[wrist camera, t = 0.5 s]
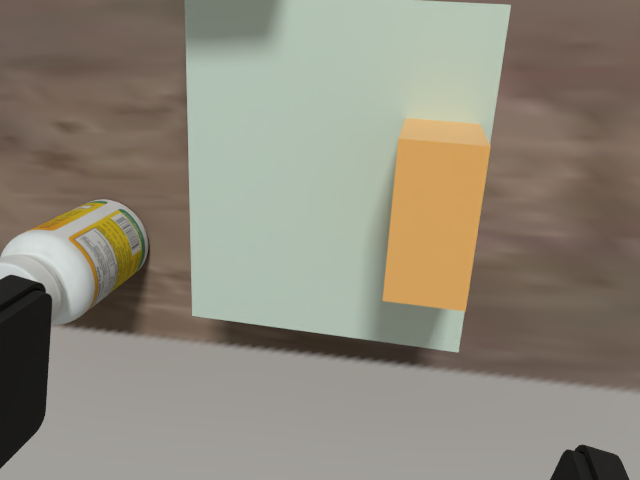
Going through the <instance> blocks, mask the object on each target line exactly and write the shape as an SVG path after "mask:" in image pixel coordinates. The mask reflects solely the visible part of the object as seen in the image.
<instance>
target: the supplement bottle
mask: <svg viewBox="0 0 640 480" xmlns="http://www.w3.org/2000/svg"><path fill="white" fill-rule="evenodd" d="M147 253H148V238H147V234H146V230H145V228H144V226H143V224H142V222H141V221H140V219H139V218H138V217H137V216H136V214H134V213H133V212H132V211H131V210H130V209H129V208H127V207H126V206H124V205H122V204H120V203H118V202H115V201H111V200H104V199H102V200H95V201H91V202H88V203H86V204H83V205H81V206H79V207H77V208H75V209H73V210H71V211H69V212H66V213H64V214H62V215H60V216H58V217H56V218H54V219H52V220H49V221H47V222H45V223H43V224H41V225H39V226H37V227H35V228H33V229H31V230H28V231H26V232H24V233H22V234H20V235H18V236H17V237H15V238H14V239H13V240H11V241H10V242H9V243H8V245H7V246H6V247H5V249H4V250H3V252H2V254H1V257H0V279H2V278H4V277H5V276H8V275H16V276H19V277H23V278H26V279H29V280H33V281H36V282H39V283H42V284H43V285H44V286H45V289H46V293H48V294H50V295H51V297H52V315H51V325H60V324H65V323H69V322H71V321H73V320H75V319H77V318H79V317H80V316H82V315H83V314H84V313H86V312H87V311H88V310H89V309H91V308H92V307H93V306H94V305H96V304H97V303H98V302H100V301H101V300H102V299H103V298H105V297H106V296H107V295H108V294H110V293H111V292H112V291H113V290H115V289H116V288H117V287H118V286H120V285H121V284H122V283H123V282H125V281H126V280H127V279H129V278H130V277H131V276H133V275H134V274H135V273H136V272H137V271H138V270H139V269H140V268H141V267H142V266H143V264H144V262H145V260H146V257H147Z"/></svg>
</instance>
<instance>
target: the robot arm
mask: <svg viewBox="0 0 640 480" xmlns="http://www.w3.org/2000/svg"><path fill="white" fill-rule="evenodd" d="M51 315H52V297H51V295H50V294H48V293H46V289H45V286H44V285H43V284H42V283H39V282H36V281H33V280H29V279H26V278H23V277H19V276H16V275H8V276H5V277H4V278H2V279H0V468H1V467H2V466H3V465H4V464H5V463H6V462H7V461H8V460H9V459H10V458H11V457H12V456H13V455H14V454H15V453H16V452H17V451H18V450H19V449H20V448H21V447H22V446H23V445H24V444H25V443H26V442H27V441H28V440H29V439H30V438H31V437H32V436H33V435H34V434H35V433H36V432H37V431H38V429H39V427H40V426H41V424H42V422H43V420H44V416H45V411H46V396H47V379H48V363H49V346H50V331H51ZM550 480H629V478H628V475H627V473H626V471H625V469H624V466H623V464H622V462H621V460H620V458H619V457H618V456H617V455H615V454H613V453H609V452H606V451H602V450H599V449H595V448H592V447H589V446H586V445H579V446H578V447H577V448H576V449H575V451H572V450H566V451H565V452H564V453H563V455H562V456H561V458H560V461H559V463H558V465H557V467H556V469H555V471H554V473H553V475H552V477H551V479H550Z"/></svg>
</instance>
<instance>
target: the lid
mask: <svg viewBox="0 0 640 480" xmlns="http://www.w3.org/2000/svg"><path fill="white" fill-rule="evenodd" d="M510 8H511V5H502V4H481V3H461V2H440V1H419V0H185V31H186V72H187V114H188V155H189V197H190V238H191V279H192V316H197V317H205V318H212V319H219V320H226V321H234V322H241V323H248V324H256V325H263V326H270V327H277V328H285V329H292V330H299V331H306V332H314V333H321V334H328V335H336V336H343V337H350V338H357V339H365V340H372V341H379V342H386V343H394V344H401V345H408V346H415V347H423V348H430V349H437V350H445V351H452V352H459V345H460V338H461V332H462V325H463V319H464V312H465V311H466V305H467V298H468V292H469V285H470V279H471V272H472V266H473V259H474V252H475V246H476V239H477V233H478V226H479V219H480V213H481V206H482V200H483V193H484V187H485V180H486V173H487V167H488V160H489V154H490V147H491V146H490V140H491V134H492V127H493V120H494V114H495V107H496V101H497V94H498V87H499V81H500V74H501V68H502V61H503V54H504V48H505V41H506V35H507V28H508V21H509V15H510Z"/></svg>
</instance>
